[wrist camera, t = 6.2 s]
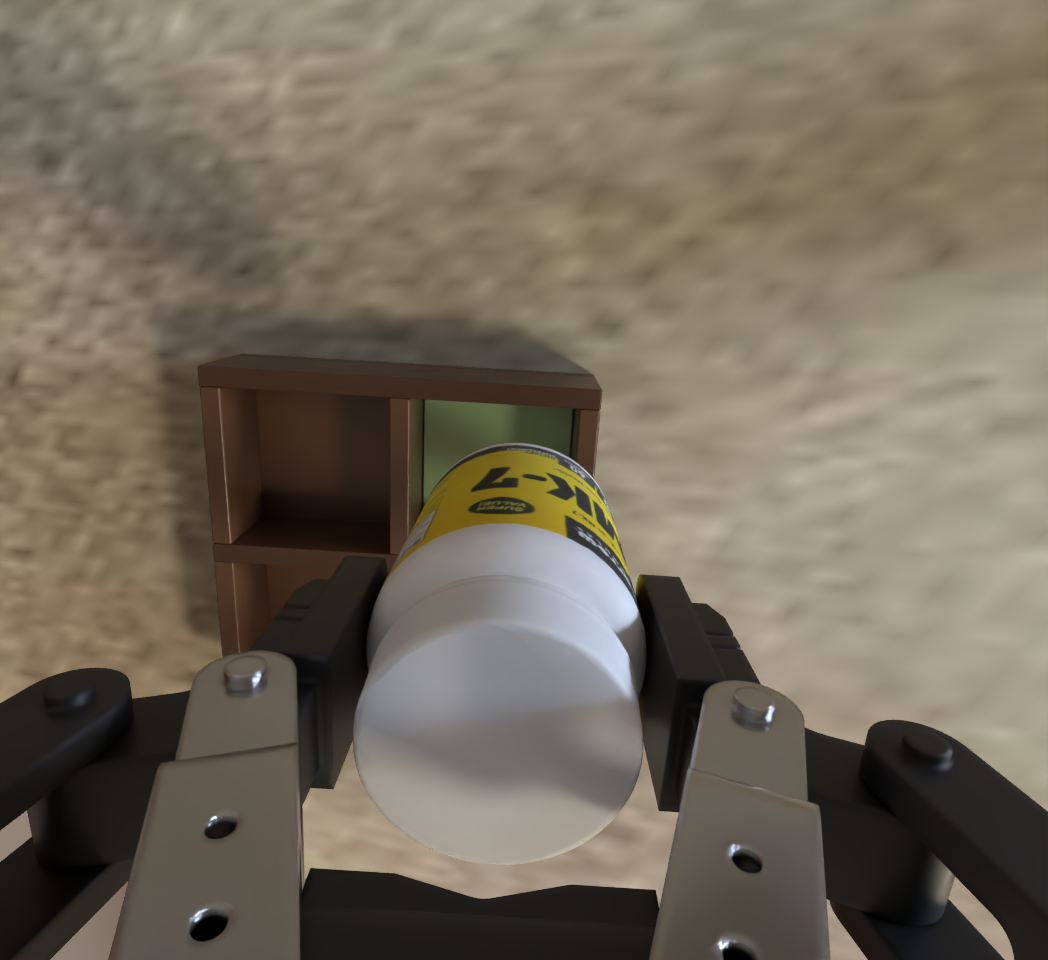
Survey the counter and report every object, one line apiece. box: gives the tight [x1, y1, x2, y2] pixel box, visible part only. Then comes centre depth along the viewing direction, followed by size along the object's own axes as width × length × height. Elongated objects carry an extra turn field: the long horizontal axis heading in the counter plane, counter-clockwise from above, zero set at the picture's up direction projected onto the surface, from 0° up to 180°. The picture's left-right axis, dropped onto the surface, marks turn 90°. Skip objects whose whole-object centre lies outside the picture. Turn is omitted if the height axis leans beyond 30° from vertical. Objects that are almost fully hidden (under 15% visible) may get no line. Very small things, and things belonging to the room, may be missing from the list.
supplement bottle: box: [353, 443, 647, 865], centre depth 13 cm, size 5×5×8 cm
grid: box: [198, 354, 602, 657], centre depth 30 cm, size 16×16×4 cm
